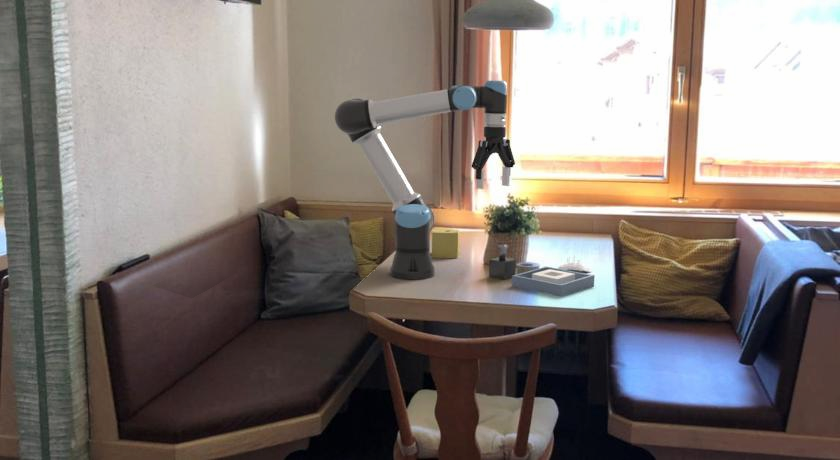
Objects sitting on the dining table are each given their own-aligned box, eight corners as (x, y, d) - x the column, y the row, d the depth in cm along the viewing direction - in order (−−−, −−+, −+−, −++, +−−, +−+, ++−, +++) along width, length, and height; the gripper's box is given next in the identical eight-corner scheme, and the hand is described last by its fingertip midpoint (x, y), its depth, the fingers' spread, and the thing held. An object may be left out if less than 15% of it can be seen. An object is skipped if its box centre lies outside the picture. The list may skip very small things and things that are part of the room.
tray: (561, 296, 267) (561, 285, 266) (511, 286, 280) (512, 275, 279) (594, 285, 281) (594, 275, 280) (545, 276, 293) (545, 266, 293)
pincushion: (592, 271, 303) (592, 255, 302) (590, 275, 297) (590, 259, 296) (557, 269, 306) (558, 253, 305) (555, 272, 301) (555, 256, 300)
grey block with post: (503, 279, 288) (504, 248, 286) (488, 276, 293) (489, 245, 291) (515, 276, 293) (516, 245, 291) (500, 273, 297) (501, 242, 295)
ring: (557, 288, 273) (557, 279, 272) (526, 282, 281) (526, 273, 280) (574, 282, 280) (575, 273, 280) (544, 276, 288) (544, 268, 288)
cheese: (459, 253, 332) (460, 227, 330) (458, 259, 321) (458, 232, 319) (433, 252, 333) (433, 227, 331) (430, 258, 322) (430, 232, 320)
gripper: (478, 127, 286) (476, 191, 289) (526, 125, 303) (524, 185, 306) (462, 126, 291) (460, 188, 295) (509, 124, 308) (507, 183, 312)
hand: (492, 187), depth 301 cm, fingers open, 13 cm apart
